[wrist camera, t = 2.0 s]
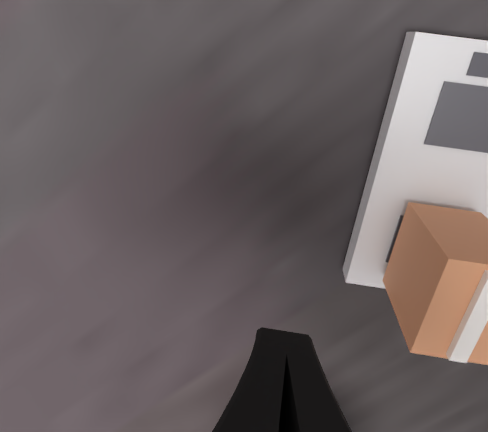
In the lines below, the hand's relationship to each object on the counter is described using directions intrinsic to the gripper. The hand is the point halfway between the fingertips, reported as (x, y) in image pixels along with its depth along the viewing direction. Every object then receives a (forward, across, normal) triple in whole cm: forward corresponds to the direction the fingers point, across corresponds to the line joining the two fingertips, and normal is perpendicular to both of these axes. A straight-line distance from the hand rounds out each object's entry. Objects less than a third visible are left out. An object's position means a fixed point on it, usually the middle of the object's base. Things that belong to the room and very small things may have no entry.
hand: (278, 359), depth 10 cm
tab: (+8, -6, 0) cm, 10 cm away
